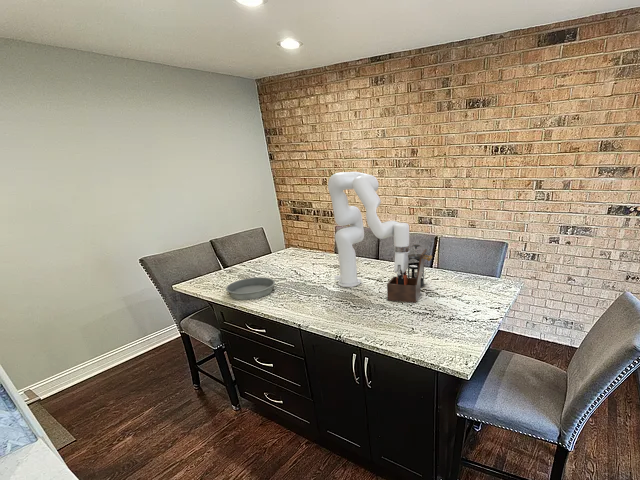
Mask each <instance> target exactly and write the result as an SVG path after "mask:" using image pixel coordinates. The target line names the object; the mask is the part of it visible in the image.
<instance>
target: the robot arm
mask: <svg viewBox="0 0 640 480" xmlns="http://www.w3.org/2000/svg"><path fill="white" fill-rule="evenodd" d="M379 184H380V183H379V180H378V179H377V178H376V176H375V175H373V174H369V173H364V172H360V171H341V172H340V171H339V172H336V173H334V174H332V175H331V176H330V177H329V179H328V182H327V188H328V193H329V196H330V200H331V206H332V211H333V216H334V221H335V224H336V225H337V226H339V227H343V228H340V229H338V230H337V231H336V232H335V235H334V240H335V243H336V247H337V255H338V266H339V275H336V274H335V275H334V280H335V281H338V282H337V284H338V286H339V287H342V288H352V287H356V286H357V287H358V286H359V285H360V284H361V279H360V278H358V265H357V254H356V250H355V248H354V246H353V245H355V244H358V243H362V242H363V240H364V238H365V228H364V221H363V215H362V211H361V210H360V209H359V207H357V206H356V205H349V204H350V203H349V199H348V196H347V194H346V192H345V191H347V190H353V191H354V192H355V194H356V196H357V197H358V199H359V200H360V202H361V203H362V206H364V208H365V217H366V218H365V219H366V223H367V226H368V228H369V229H370V231H371V232H372V234H373V235H374V236H375V238H377V239H379V240H385V239H388V238H392V237H393V253H394V262H393V263H394V264H393V265H394V267H393V268H394V269H393V271H394V273H395V274H396V277H397V276H398V277H397V278H398V284H401V285H404V278H403V275H408V264H409V258H408V255H409V253H410V225H409V223H407V222H399V221H397V220H388V221H384V222H382V221H381V219H380V218H379V216H378V213H377V209H378V208H379V206H380V205H381V203H382V200H381V198H380V196H379V195H378V193H377V191H378V189H379V187H380V185H379ZM345 226H347V227H345Z"/></svg>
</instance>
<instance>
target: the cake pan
mask: <svg viewBox="0 0 640 480" xmlns="http://www.w3.org/2000/svg"><path fill="white" fill-rule="evenodd" d="M275 284H276V281H275V280H274V279H273V278H270V277H261V276H260V277H249V278H242V279H238V280H236V281H234V282H231V283H229V284H227V286H226V287H225V290H226V292H228V293H229V295H230V297H231V298H232V299H235V300H243V301H244V300H255V299H259V298H262V297H265V296H267V295H269V294H271V293H272V292H273V290H274V286H275Z"/></svg>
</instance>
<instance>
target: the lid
mask: <svg viewBox="0 0 640 480" xmlns="http://www.w3.org/2000/svg"><path fill="white" fill-rule="evenodd" d="M427 252H428V249H427V248H425V249H424V250H423V251H422V252H421V253H420V254H421V256H420V261H418V262H419V267H418V272H417V271H416V272H417V277H416V283H415V285H417V284H418V282H419V281H420V279H421V278H423V276H422V273H423V267H424V268H425V262H426V261H428V262H430V261H431V260H432V259H433V254H432V255H431V254H430V255H428V254H427Z"/></svg>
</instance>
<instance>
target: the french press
mask: <svg viewBox="0 0 640 480" xmlns="http://www.w3.org/2000/svg"><path fill="white" fill-rule="evenodd" d="M411 247H414V249H415V250H417V249H418V248H419V247H421V245H420V244H412V245H411ZM421 254H422V253H412V254H408V261H411V260H415V262H410V263H409V262H408V268H407V275H408V278H416V277H417V272H418V267H419V261H420V256H421ZM410 270H411V272H410ZM423 287H425V266H424V267H423V272H422V277H421V288H423Z"/></svg>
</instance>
